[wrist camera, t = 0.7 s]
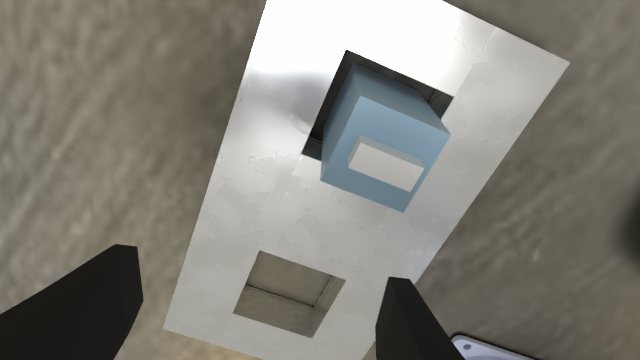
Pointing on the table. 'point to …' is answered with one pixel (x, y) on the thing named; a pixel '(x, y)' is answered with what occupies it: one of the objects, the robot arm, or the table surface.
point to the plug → (380, 139)
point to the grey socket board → (334, 203)
